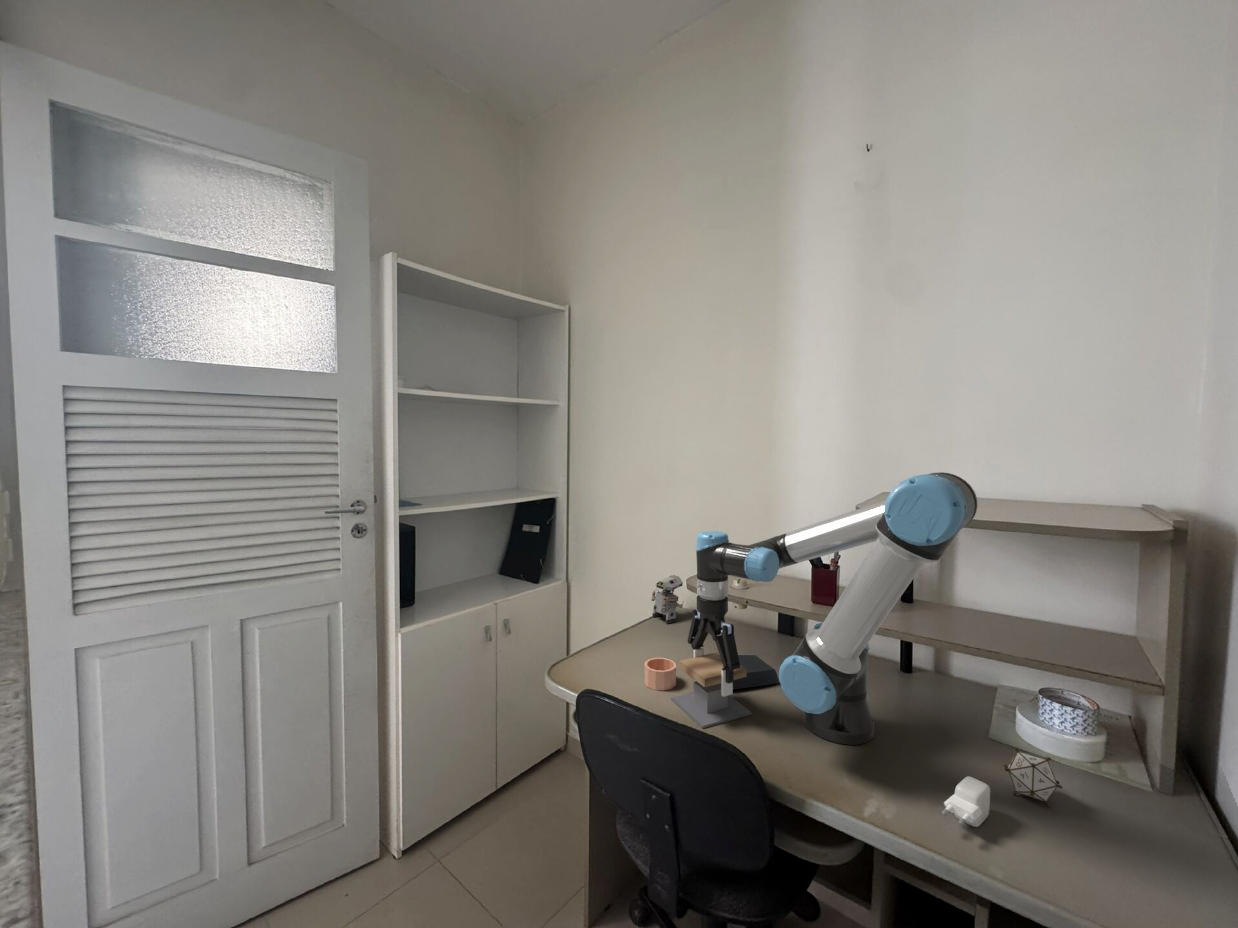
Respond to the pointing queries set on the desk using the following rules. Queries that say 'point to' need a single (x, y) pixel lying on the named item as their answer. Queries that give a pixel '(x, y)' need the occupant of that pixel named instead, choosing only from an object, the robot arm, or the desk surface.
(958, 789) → the power adapter
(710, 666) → the lid
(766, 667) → the external hard drive
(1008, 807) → the desk surface
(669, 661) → the bowl
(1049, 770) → the game die
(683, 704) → the cube on square base
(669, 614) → the figurine
